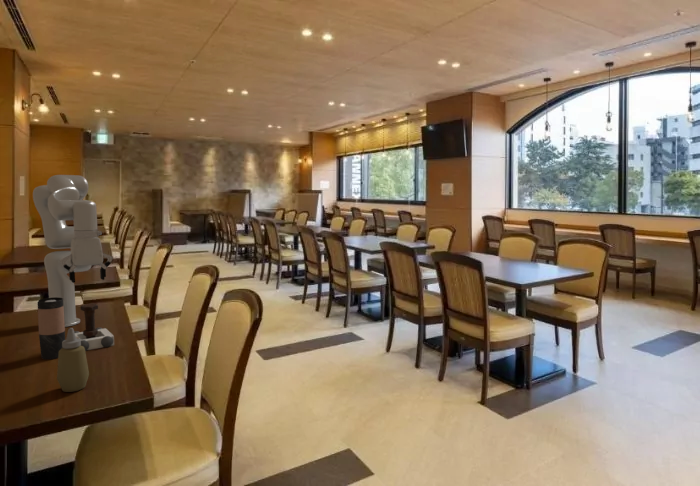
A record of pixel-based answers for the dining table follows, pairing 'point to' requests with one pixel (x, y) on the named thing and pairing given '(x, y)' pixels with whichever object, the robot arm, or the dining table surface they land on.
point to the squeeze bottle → (72, 364)
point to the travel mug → (51, 326)
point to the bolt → (89, 320)
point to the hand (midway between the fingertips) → (88, 280)
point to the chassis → (96, 339)
